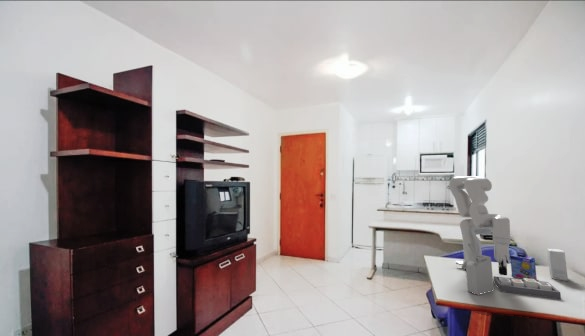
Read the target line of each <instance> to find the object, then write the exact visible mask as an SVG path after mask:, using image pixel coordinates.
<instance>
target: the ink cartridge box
mask: <svg viewBox="0 0 585 336" xmlns="http://www.w3.org/2000/svg"><path fill="white" fill-rule="evenodd" d="M516 253H517V254H516ZM516 253H514V254H511V255H510V254H509V257H510V269H511V277H512V278H513V277H514V278H516V279H523V278H528V279H534V280H535V281H538V280H537V279H538V278H537V271H536V270H537V269H536V259H535V257H532V256H528V255H526V254H525V252H524V253H523V252H518V251H517V252H516Z"/></svg>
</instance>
